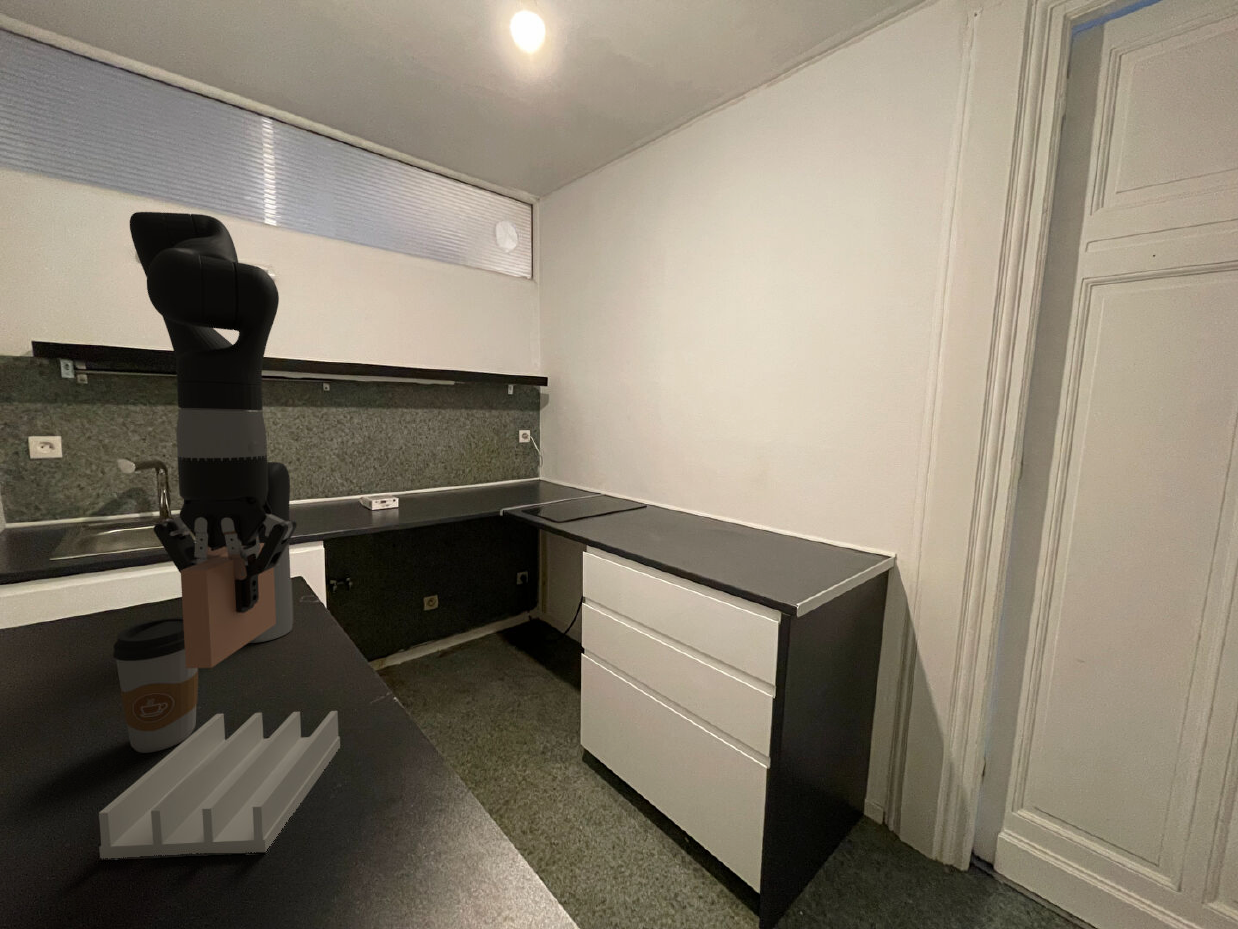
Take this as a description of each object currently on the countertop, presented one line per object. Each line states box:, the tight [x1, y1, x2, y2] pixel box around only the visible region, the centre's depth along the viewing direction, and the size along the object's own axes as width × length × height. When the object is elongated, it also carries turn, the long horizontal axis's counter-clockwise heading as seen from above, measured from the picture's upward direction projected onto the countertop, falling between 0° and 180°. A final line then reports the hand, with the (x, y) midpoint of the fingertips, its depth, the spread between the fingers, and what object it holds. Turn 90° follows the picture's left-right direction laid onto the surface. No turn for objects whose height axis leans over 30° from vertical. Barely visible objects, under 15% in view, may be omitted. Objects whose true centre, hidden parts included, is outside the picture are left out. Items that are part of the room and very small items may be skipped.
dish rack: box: [98, 710, 341, 859], centre depth 57 cm, size 16×15×5 cm
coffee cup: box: [112, 616, 199, 753], centre depth 66 cm, size 8×8×15 cm
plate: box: [180, 543, 276, 669], centre depth 56 cm, size 11×2×10 cm, turn 5°
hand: (230, 609), depth 55 cm, fingers closed on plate, 2 cm apart
